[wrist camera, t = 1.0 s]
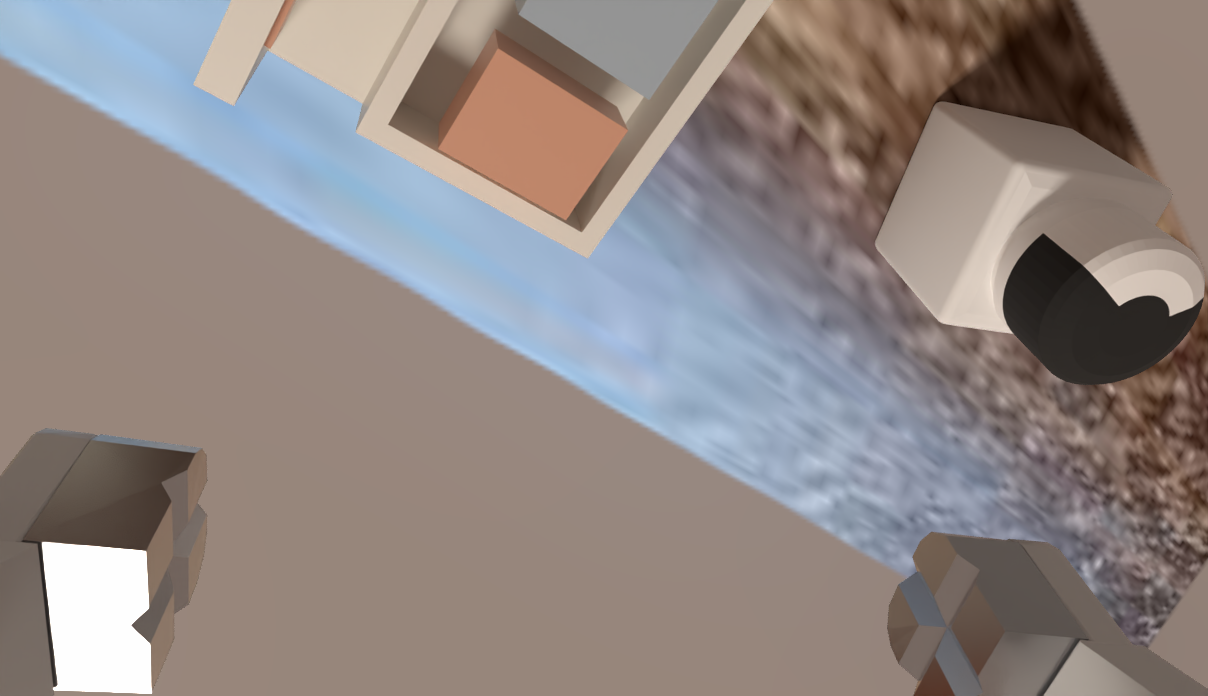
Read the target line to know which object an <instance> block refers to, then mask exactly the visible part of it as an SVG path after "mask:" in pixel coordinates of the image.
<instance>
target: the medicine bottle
mask: <svg viewBox="0 0 1208 696" xmlns="http://www.w3.org/2000/svg"><path fill="white" fill-rule="evenodd" d="M1172 195H1173V194H1172V191H1171V189H1170V188H1168V187H1167V186H1165V185H1163V184H1162V183H1160V182H1158V181H1157V180H1155V179H1154V178H1152V177H1150V176H1149V175H1147V174H1145V173H1144V172H1142V171H1140V170H1139V169H1137V168H1135V167H1134V166H1132V165H1131V164H1129V163H1127V162H1126V161H1124V160H1122V159H1121V158H1119V157H1117V156H1116V155H1114V154H1112V153H1111V152H1109V151H1108V150H1106V149H1104V148H1103V147H1101V146H1099V145H1098V144H1096V143H1094V142H1093V141H1091V140H1089V139H1088V138H1086V137H1085V136H1083V135H1081V134H1080V133H1078V132H1076V131H1075V130H1073V129H1071V128H1067V127H1062V126H1057V125H1052V124H1048V123H1043V122H1038V121H1034V120H1029V119H1024V118H1020V117H1015V116H1010V115H1005V114H1001V113H996V112H991V111H987V110H982V109H977V108H972V107H968V106H963V105H958V104H954V103H949V102H938V103H936V104H935V105H934V107H933V109H932V111H931V113H930V116H929V118H928V120H927V122H926V125H925V127H924V129H923V132H922V134H921V136H920V139H919V141H918V143H917V146H916V148H915V150H914V153H913V155H912V157H911V159H910V162H909V164H908V166H907V169H906V171H905V173H904V176H903V178H902V180H901V183H900V185H899V187H898V190H897V192H896V194H895V196H894V199H893V201H892V203H891V206H890V208H889V210H888V213H887V215H886V217H885V220H884V222H883V224H882V227H881V229H880V231H879V233H878V236H877V238H876V240H875V246H876V248H877V250H878V251H879V252H880V253H881V254H882V255H883V257H884V258H885V259H886V260H887V261H888V262H889V264H890V265H891V266H892V267H893V268H894V269H895V271H896V272H897V273H898V274H899V275H900V276H901V278H902V279H903V280H904V281H905V282H906V283H907V285H908V286H909V287H910V288H911V289H912V291H913V292H914V293H915V294H916V295H917V296H918V298H919V299H920V300H921V301H922V302H923V303H924V305H925V306H926V307H927V308H928V309H929V310H930V312H931V313H932V314H933V315H934V316H935V317H936V319H937V320H938V321H940V322H941V323H944V324H948V325H955V326H962V327H969V328H976V329H983V330H990V331H997V332H1004V333H1011V334H1014V335H1015V336H1016V337H1017V338H1018V339H1019V340H1020V341H1021V342H1022V343H1023V344H1024V345H1025V346H1026V347H1027V348H1028V349H1029V350H1030V351H1031V352H1032V353H1033V354H1034V355H1035V356H1036V357H1037V358H1038V359H1039V360H1040V362H1041V363H1042V364H1043V365H1044V366H1045V367H1046V368H1047V369H1048V370H1049V371H1050V372H1051V373H1052V374H1054V375H1055V376H1056V377H1058V378H1060V379H1062V380H1064V381H1066V382H1070V383H1074V384H1082V385H1095V384H1107V383H1113V382H1117V381H1121V380H1124V379H1127V378H1129V377H1132V376H1134V375H1136V374H1139V373H1141V372H1143V371H1145V370H1146V369H1148V368H1150V367H1151V366H1153V365H1155V364H1156V363H1157V362H1159V361H1160V360H1162V359H1163V358H1164V357H1165V356H1166V355H1168V354H1169V353H1170V352H1171V351H1172V350H1173V349H1174V348H1175V347H1176V346H1177V345H1178V344H1179V343H1180V342H1181V341H1182V340H1183V338H1184V337H1185V336H1186V335H1187V333H1188V332H1189V330H1190V329H1191V327H1192V326H1193V324H1194V322H1195V320H1196V319H1197V317H1198V314H1199V312H1200V309H1201V306H1202V302H1203V298H1204V286H1205V278H1204V271H1203V268H1202V264H1201V262H1200V261H1199V259H1198V257H1197V256H1196V255H1195V254H1194V253H1193V251H1192V250H1190V249H1189V248H1188V247H1186V246H1185V245H1183V244H1182V243H1180V242H1179V241H1177V240H1176V239H1174V238H1173V237H1171V236H1170V235H1168V234H1167V233H1165V232H1164V231H1162V230H1161V229H1160V228H1158V227H1157V226H1155V224H1156V223H1157V221H1158V220H1159V218H1160V216H1161V215H1162V213H1163V211H1164V210H1165V208H1166V206H1167V205H1168V203H1169V201H1170V200H1171V198H1172Z"/></svg>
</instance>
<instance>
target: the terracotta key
mask: <svg viewBox="0 0 1208 696" xmlns="http://www.w3.org/2000/svg"><path fill="white" fill-rule="evenodd" d="M627 132H628V129H627V127H626V124H625V122H624V120H623V118H622V116H621V114H620V112H619V109H618V107H617V106H615V105H614V104H612V103H611V102H609V101H607V100H606V99H604V98H603V97H601V96H600V95H598V94H597V93H595V92H593V91H592V90H590V89H589V88H587V87H586V86H584V85H582V84H581V83H579V82H578V81H576V80H575V79H573V78H571V77H570V76H568V75H567V74H565V73H564V72H562V71H561V70H559V69H557V68H556V67H554V66H553V65H551V64H550V63H548V62H546V61H545V60H543V59H542V58H540V57H539V56H537V55H535V54H534V53H532V52H531V51H529V50H528V49H526V48H525V47H523V46H521V45H520V44H518V43H517V42H515V41H514V40H512V39H510V38H509V37H507V36H506V35H504V34H503V33H501V32H500V31H498V30H496V29H494V31H493V33H492V34H491V36H490V38H489V40H488V41H487V43H486V45H485V46H484V48H483V50H482V51H481V53H480V55H479V56H478V58H477V60H476V61H475V63H474V65H473V67H472V68H471V70H470V72H469V73H468V75H467V77H466V78H465V80H464V82H463V83H462V85H461V87H460V89H459V90H458V92H457V94H456V95H455V97H454V99H453V100H452V102H451V104H450V105H449V107H448V109H447V111H446V112H445V114H444V116H443V117H442V119H441V121H440V122H439V133H438V149H439V150H441V151H443V152H445V153H446V154H448V155H450V156H452V157H454V158H455V159H457V160H459V161H461V162H463V163H464V164H466V165H468V166H470V167H471V168H473V169H475V170H477V171H479V172H480V173H482V174H484V175H486V176H488V177H489V178H491V179H493V180H495V181H497V182H498V183H500V184H502V185H504V186H505V187H507V188H509V189H511V190H513V191H514V192H516V193H518V194H520V195H522V196H523V197H525V198H527V199H529V200H531V201H532V202H534V203H536V204H538V205H539V206H541V207H543V208H545V209H547V210H548V211H550V212H552V213H554V214H556V215H557V216H559V217H561V218H563V219H564V220H567V218H568V217H569V215H570V214H571V212H572V211H573V209H574V208H575V207H576V205H577V204H578V202H579V201H580V199H581V198H582V196H583V195H584V194H585V192H586V191H587V189H588V188H589V186H590V185H591V183H592V182H593V181H594V179H595V178H596V176H597V175H598V173H599V172H600V170H601V169H602V168H603V166H604V165H605V163H606V162H607V160H608V159H609V158H610V156H611V155H612V153H613V152H614V150H615V149H616V147H617V146H618V145H619V143H620V142H621V140H622V139H623V137H624V136H625V134H626V133H627Z"/></svg>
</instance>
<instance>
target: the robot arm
mask: <svg viewBox="0 0 1208 696" xmlns="http://www.w3.org/2000/svg"><path fill="white" fill-rule="evenodd" d="M206 482H207V456H206V454H205V452H204V450H203V449H202V448H197V447H189V446H182V445H175V444H167V443H160V442H152V441H145V440H137V439H130V438H123V437H116V436H108V435H99V436H98V435H95V434H89V433H81V432H73V431H65V430H57V429H49V428H45V429H43V430H41V431H39V432H36V433H35V434H33V435H32V436H31V437H30V439H29V440H28V441H27V442H26V444H25V445H24V446H23V448H22V449H21V450H20V451H19V453H18V454H17V455H16V456H15V458H14V459H13V460H12V461H11V463H10V464H9V465H8V466H7V468H6V469H5V470H4V471H3V473H2V474H1V475H0V696H53V695H54V690H78V691H104V692H129V693H152V691H153V688H154V686H155V683H156V681H157V679H158V676H159V674H160V672H161V669H162V667H163V664H164V662H165V660H166V657H167V655H168V652H169V650H170V648H171V646H172V643H173V640H174V614H175V613H176V612H178V611H179V610H181V609H182V608H184V607H185V606H187V605H188V604H189V602H190V599H191V597H192V594H193V592H194V589H195V587H196V584H197V581H198V577H199V573H200V569H201V565H202V561H203V557H204V552H205V551H204V550H205V543H206V535H207V514H206V513H205V511H204V510H203V509H202V508H201V507H200V506H199V504H198V500H199V498H200V496H201V494H202V491H203V489H204V487H205V484H206ZM913 560H914V563H915V567H916V570H917V572H916V573H915V574H913V575H912V576H910V577H909V578H907V579H906V580H904V581H903V582H901V583H900V584H899V585H898V587H897V589H896V591H895V593H894V596H893V598H892V600H891V603H890V604H889V612H888V625H887V629H888V634H889V640H890V644H891V648H892V650H893V652H894V654H895V657H896V659H897V661H898V663H899V665H901V666H902V667H903V668H904V669H905V670H906V671H908V672H909V673H910V674H911V675H912V676H913V677H914V678H916V679H917V680H918V682H917V686H916V689H915V692H914V696H1208V689H1207V688H1206V687H1204V686H1203V685H1201V684H1200V683H1198V682H1197V681H1195V680H1194V679H1192V678H1191V677H1189V676H1188V675H1186V674H1185V673H1183V672H1182V671H1180V670H1179V669H1177V668H1176V667H1174V666H1173V665H1171V664H1170V663H1168V662H1167V661H1166V660H1164V659H1162V658H1161V657H1160V656H1158V655H1157V654H1155V653H1154V652H1152V651H1151V650H1149V649H1148V648H1146V647H1145V646H1137V645H1132V644H1131V642H1130V641H1129V640H1128V638H1127V637H1126V636H1125V634H1124V633H1123V632H1122V630H1121V629H1120V628H1119V627H1118V625H1117V624H1116V623H1115V621H1114V620H1113V619H1112V617H1111V616H1110V615H1109V614H1108V612H1107V611H1106V610H1105V608H1104V607H1103V606H1102V604H1101V603H1100V602H1099V600H1098V599H1097V598H1096V597H1095V595H1094V594H1093V593H1092V591H1091V590H1090V589H1089V587H1088V586H1087V585H1086V584H1085V582H1084V581H1083V580H1082V578H1081V577H1080V576H1079V574H1078V573H1077V572H1076V570H1075V569H1074V568H1073V567H1072V565H1071V564H1070V563H1069V561H1068V560H1067V559H1066V557H1065V556H1064V555H1063V554H1062V552H1061V551H1060V550H1059V549H1057V548H1056V547H1054V546H1052V545H1051V544H1049V543H1048V542H1038V541H1026V540H1015V539H1008V540H1002V539H992V538H983V537H974V536H965V535H956V534H946V533H937V532H931V533H929V534H928V535H927V536H926V537H925V538H923V539H922V540H921V541H920V543H919V545H918V547H917V549H916V551H915V553H914V555H913Z"/></svg>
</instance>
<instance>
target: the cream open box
mask: <svg viewBox="0 0 1208 696" xmlns="http://www.w3.org/2000/svg"><path fill="white" fill-rule="evenodd" d="M772 2H773V0H718V2H717V3H716V4H715V6H714V7H713V9H712V10H711V12H710V13H709V15H708V16H707V17H706V19H705V20H704V22H703V23H702V25H701V26H700V28H699V29H698V30H697V32H696V33H695V35H694V36H693V38H692V39H691V41H690V42H689V43H688V45H687V46H686V48H685V49H684V51H683V52H682V54H681V55H680V56H679V58H678V59H677V61H676V62H675V64H674V65H673V67H672V68H671V69H670V71H669V72H668V74H667V75H666V77H665V78H664V80H663V81H662V82H661V84H660V85H659V87H658V88H657V90H656V91H655V93H654V94H653V95H652V97H651V98H650V100H648V99H647V98H645V97H644V96H642V95H641V94H639V93H638V92H636V91H635V90H633V89H632V88H630V87H629V86H627V85H625V84H624V83H622V82H621V81H619V80H618V79H616V78H615V77H613V76H612V75H610V74H609V73H607V72H606V71H604V70H603V69H601V68H599V67H598V66H596V65H595V64H593V63H592V62H590V61H589V60H587V59H586V58H584V57H583V56H581V55H580V54H578V53H577V52H575V51H574V50H572V49H570V48H569V47H567V46H566V45H564V44H563V43H561V42H560V41H558V40H557V39H555V38H554V37H552V36H551V35H549V34H548V33H546V32H544V31H543V30H541V29H540V28H538V27H537V26H535V25H534V24H532V23H531V22H529V21H528V20H526V19H525V18H523V17H522V16H520V15H519V14H518V11H517V7H516V3H515V0H231V2H230V5H229V7H228V9H227V11H226V13H225V16H224V18H223V20H222V22H221V25H220V27H219V29H218V31H217V33H216V36H215V38H214V40H213V42H212V44H211V47H210V49H209V51H208V53H207V55H206V58H205V60H204V62H203V64H202V66H201V69H200V71H199V73H198V75H197V77H196V80H195V82H194V84H193V85H195V86H197V87H199V88H200V89H202V90H204V91H206V92H208V93H210V94H212V95H214V96H216V97H218V98H219V99H221V100H223V101H225V102H227V103H229V104H231V105H233V106H234V105H235V103H236V102H237V100H238V98H239V97H240V95H241V93H242V92H243V90H244V89H245V87H246V85H247V84H248V82H249V80H250V79H251V77H252V75H253V74H254V72H255V70H256V69H257V67H258V65H259V64H260V62H261V61H262V59H263V57H264V56H265V54H266V52H267V51H270V52H272V53H273V54H275V55H277V56H279V57H280V58H282V59H284V60H286V61H288V62H289V63H291V64H293V65H295V66H297V67H298V68H300V69H302V70H304V71H305V72H307V73H309V74H311V75H313V76H314V77H316V78H318V79H320V80H322V81H323V82H325V83H327V84H329V85H330V86H332V87H334V88H336V89H338V90H339V91H341V92H343V93H345V94H347V95H348V96H350V97H352V98H354V99H355V100H357V101H359V102H361V103H363V104H362V108H361V112H360V116H359V120H358V124H357V128H356V133H358V134H360V135H362V136H364V137H365V138H367V139H369V140H371V141H373V142H375V143H376V144H378V145H380V146H382V147H384V148H386V149H388V150H389V151H391V152H393V153H395V154H397V155H399V156H400V157H402V158H404V159H406V160H408V161H410V162H411V163H413V164H415V165H417V166H419V167H421V168H422V169H424V170H426V171H428V172H430V173H432V174H433V175H435V176H437V177H439V178H441V179H443V180H444V181H446V182H448V183H450V184H452V185H454V186H455V187H457V188H459V189H461V190H463V191H465V192H466V193H468V194H470V195H472V196H474V197H476V198H477V199H479V200H481V201H483V202H485V203H487V204H489V205H490V206H492V207H494V208H496V209H498V210H500V211H501V212H503V213H505V214H507V215H509V216H511V217H512V218H514V219H516V220H518V221H520V222H522V223H523V224H525V225H527V226H529V227H531V228H533V229H534V230H536V231H538V232H540V233H542V234H544V235H545V236H547V237H549V238H551V239H553V240H555V241H556V242H558V243H560V244H562V245H564V246H566V247H567V248H569V249H571V250H573V251H575V252H577V253H579V254H580V255H582V256H584V257H586V258H588V257H589V256H590V255H591V253H592V252H593V250H594V249H595V248H596V246H597V245H598V243H599V242H600V241H601V239H602V238H603V237H604V235H605V234H606V232H607V231H608V230H609V228H610V227H611V225H612V224H613V223H614V221H615V220H616V218H617V217H618V216H619V214H620V213H621V212H622V210H623V209H624V207H625V206H626V205H627V203H628V202H629V200H630V199H631V198H632V196H633V195H634V193H635V192H636V191H637V189H638V188H639V187H640V185H641V184H642V182H643V181H644V180H645V178H646V177H647V175H648V174H649V173H650V171H651V170H652V168H653V167H654V166H655V164H656V163H657V162H658V160H659V159H660V157H661V156H662V155H663V153H664V152H665V150H666V149H667V148H668V146H669V145H670V143H671V142H672V141H673V139H674V138H675V136H676V135H677V134H678V132H679V131H680V130H681V128H682V127H683V125H684V124H685V123H686V121H687V120H688V118H689V117H690V116H691V114H692V113H693V111H694V110H695V109H696V107H697V106H698V105H699V103H700V102H701V100H702V99H703V98H704V96H705V95H706V93H707V92H708V91H709V89H710V88H711V86H712V85H713V84H714V82H715V81H716V80H717V78H718V77H719V75H720V74H721V73H722V71H723V70H724V68H725V67H726V66H727V64H728V63H729V61H730V60H731V59H732V57H733V56H734V55H735V53H736V52H737V50H738V49H739V48H740V46H741V45H742V43H743V42H744V41H745V39H746V38H747V36H748V35H749V34H750V32H751V31H752V30H753V28H754V27H755V25H756V24H757V23H758V21H759V20H760V18H761V17H762V16H763V14H764V13H765V11H766V10H767V9H768V7H769V6H770V5H771V3H772ZM494 29H496V30H498V31H500V32H501V33H503V34H504V35H506V36H507V37H509V38H510V39H512V40H514V41H515V42H517V43H518V44H520V45H521V46H523V47H525V48H526V49H528V50H529V51H531V52H532V53H534V54H535V55H537V56H539V57H540V58H542V59H543V60H545V61H546V62H548V63H550V64H551V65H553V66H554V67H556V68H557V69H559V70H561V71H562V72H564V73H565V74H567V75H568V76H570V77H571V78H573V79H575V80H576V81H578V82H579V83H581V84H582V85H584V86H586V87H587V88H589V89H590V90H592V91H593V92H595V93H597V94H598V95H600V96H601V97H603V98H604V99H606V100H607V101H609V102H611V103H612V104H614V105H615V106H617V107H618V109H619V112H620V114H621V116H622V118H623V120H624V122H625V124H626V127H627V129H628V132H627V133H626V134H625V136H624V137H623V139H622V140H621V142H620V143H619V145H618V146H617V147H616V149H615V150H614V152H613V153H612V155H611V156H610V158H609V159H608V160H607V162H606V163H605V165H604V166H603V168H602V169H601V170H600V172H599V173H598V175H597V176H596V178H595V179H594V181H593V182H592V183H591V185H590V186H589V188H588V189H587V191H586V192H585V194H584V195H583V196H582V198H581V199H580V201H579V202H578V204H577V205H576V207H575V208H574V209H573V211H572V212H571V214H570V215H569V217H568V218H567V220H564V219H563V218H561V217H559V216H557V215H556V214H554V213H552V212H550V211H548V210H547V209H545V208H543V207H541V206H539V205H538V204H536V203H534V202H532V201H531V200H529V199H527V198H525V197H523V196H522V195H520V194H518V193H516V192H514V191H513V190H511V189H509V188H507V187H505V186H504V185H502V184H500V183H498V182H497V181H495V180H493V179H491V178H489V177H488V176H486V175H484V174H482V173H480V172H479V171H477V170H475V169H473V168H471V167H470V166H468V165H466V164H464V163H463V162H461V161H459V160H457V159H455V158H454V157H452V156H450V155H448V154H446V153H445V152H443V151H441V150H439V149H438V133H439V122H440V121H441V119H442V117H443V116H444V114H445V112H446V111H447V109H448V107H449V105H450V104H451V102H452V100H453V99H454V97H455V95H456V94H457V92H458V90H459V89H460V87H461V85H462V83H463V82H464V80H465V78H466V77H467V75H468V73H469V72H470V70H471V68H472V67H473V65H474V63H475V61H476V60H477V58H478V56H479V55H480V53H481V51H482V50H483V48H484V46H485V45H486V43H487V41H488V40H489V38H490V36H491V34H492V33H493V31H494Z"/></svg>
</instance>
